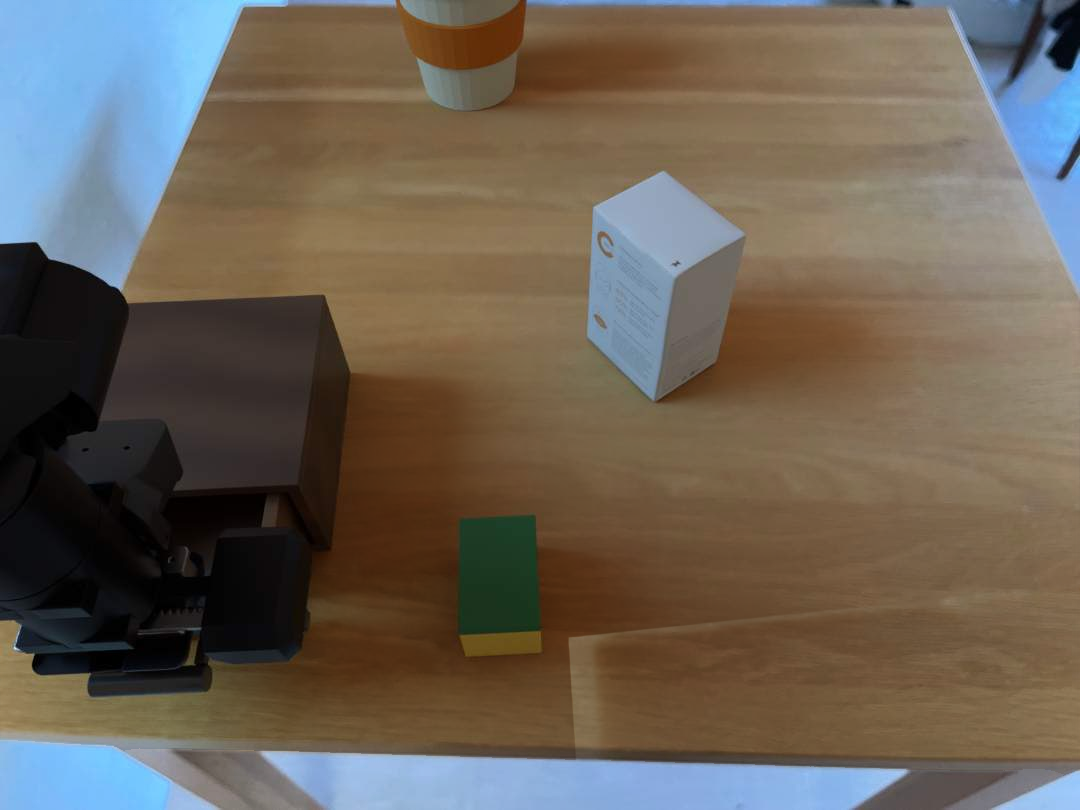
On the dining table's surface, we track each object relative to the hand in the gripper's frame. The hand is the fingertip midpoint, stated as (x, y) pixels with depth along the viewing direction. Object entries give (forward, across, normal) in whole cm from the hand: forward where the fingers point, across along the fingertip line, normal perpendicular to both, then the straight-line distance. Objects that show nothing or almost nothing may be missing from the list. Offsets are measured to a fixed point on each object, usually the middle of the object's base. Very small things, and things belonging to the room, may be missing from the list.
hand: (173, 655), depth 47 cm
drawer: (+3, 0, -6) cm, 7 cm away
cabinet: (+4, 0, -15) cm, 15 cm away
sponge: (+4, -18, -4) cm, 19 cm away
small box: (+4, -30, -23) cm, 38 cm away
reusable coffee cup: (+4, -16, -58) cm, 60 cm away
